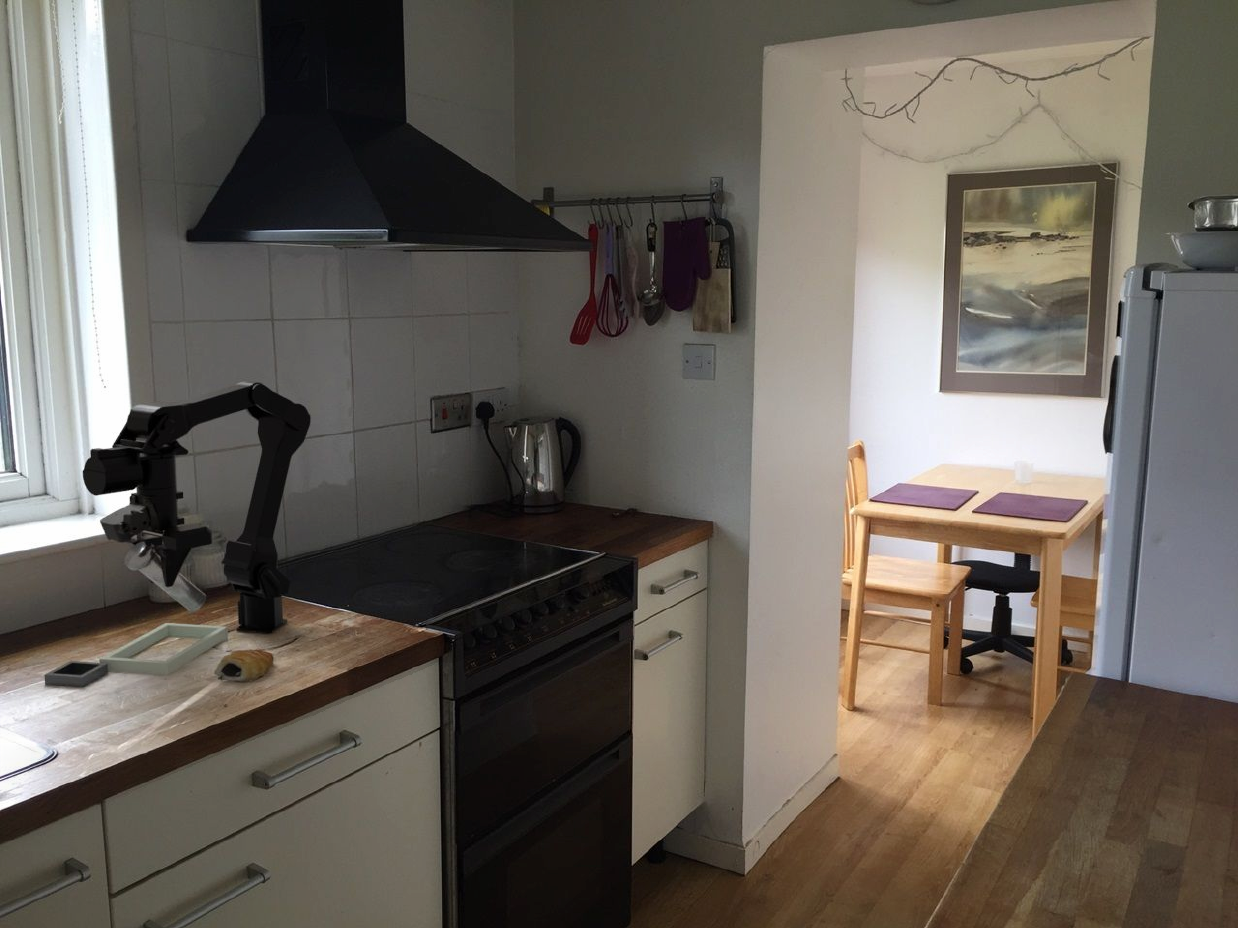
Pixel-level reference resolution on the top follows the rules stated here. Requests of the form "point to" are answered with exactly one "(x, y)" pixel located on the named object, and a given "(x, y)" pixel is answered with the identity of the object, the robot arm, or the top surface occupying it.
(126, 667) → the tray
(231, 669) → the pastry
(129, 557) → the pin
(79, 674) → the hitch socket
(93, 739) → the top surface
